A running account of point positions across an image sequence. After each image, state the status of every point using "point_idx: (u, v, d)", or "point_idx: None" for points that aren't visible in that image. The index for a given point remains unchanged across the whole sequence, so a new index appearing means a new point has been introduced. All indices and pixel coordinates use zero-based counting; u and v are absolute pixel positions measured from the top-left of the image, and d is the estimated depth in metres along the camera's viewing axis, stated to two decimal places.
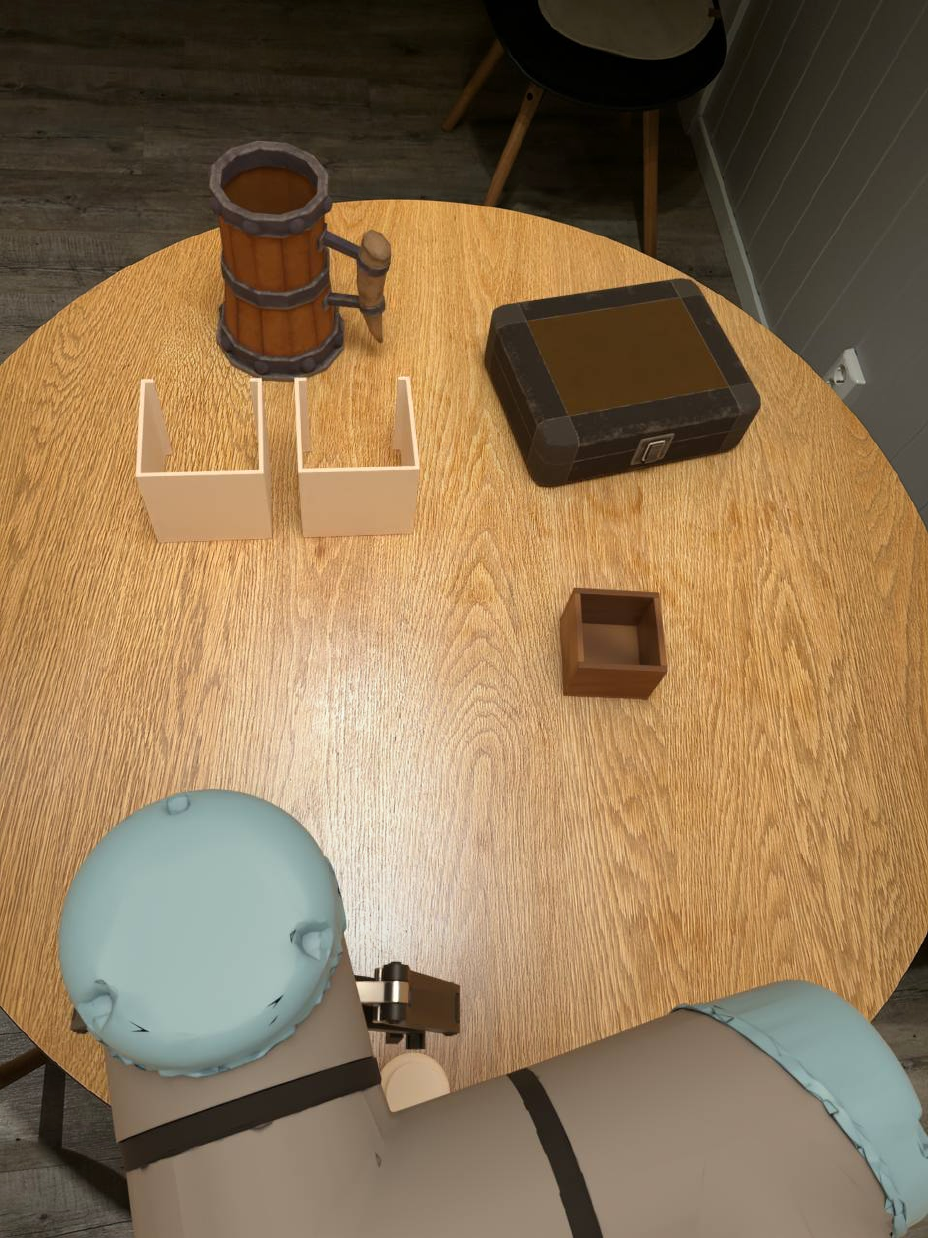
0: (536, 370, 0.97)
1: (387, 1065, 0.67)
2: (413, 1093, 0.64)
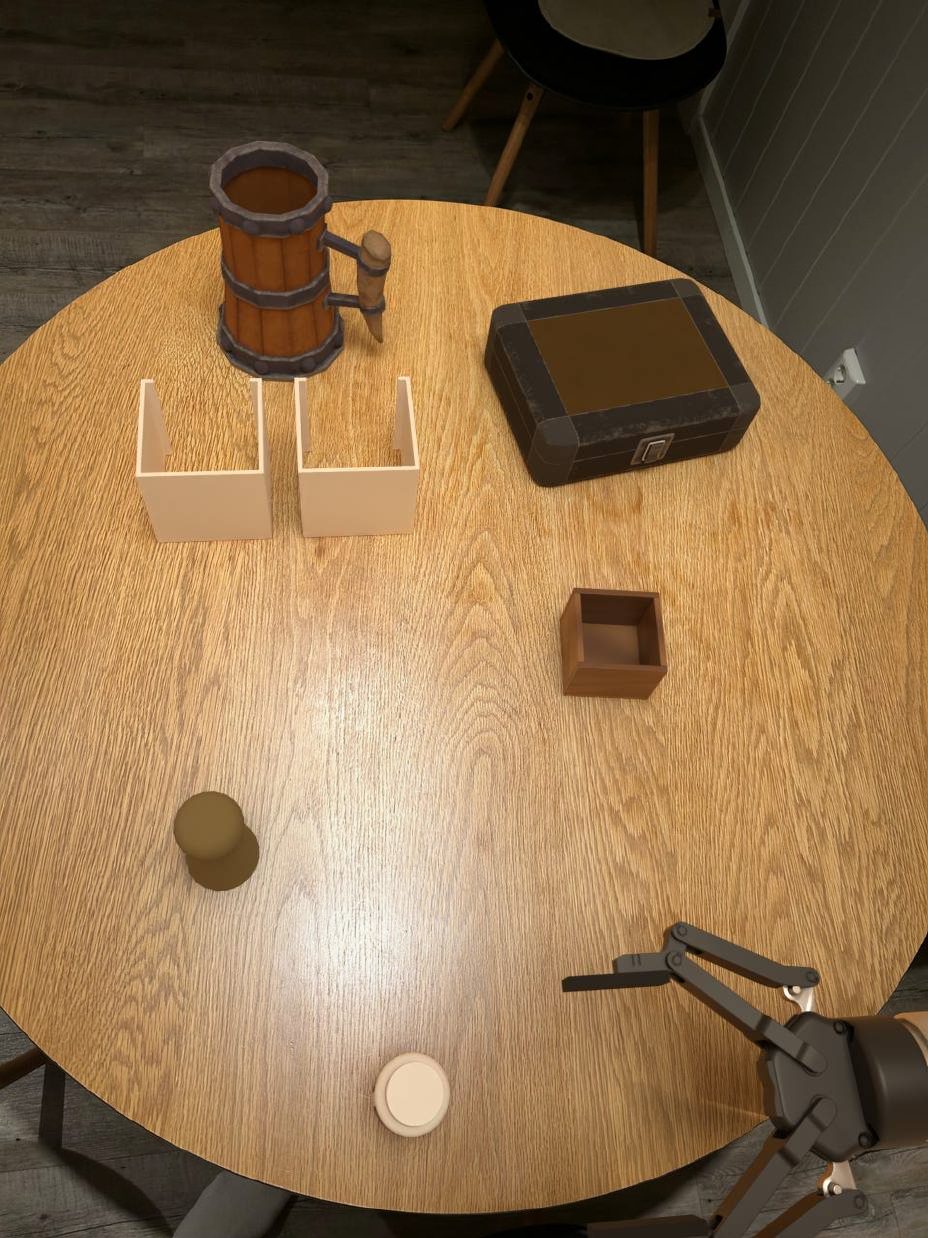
0: (536, 370, 0.97)
1: (387, 1065, 0.67)
2: (413, 1093, 0.64)
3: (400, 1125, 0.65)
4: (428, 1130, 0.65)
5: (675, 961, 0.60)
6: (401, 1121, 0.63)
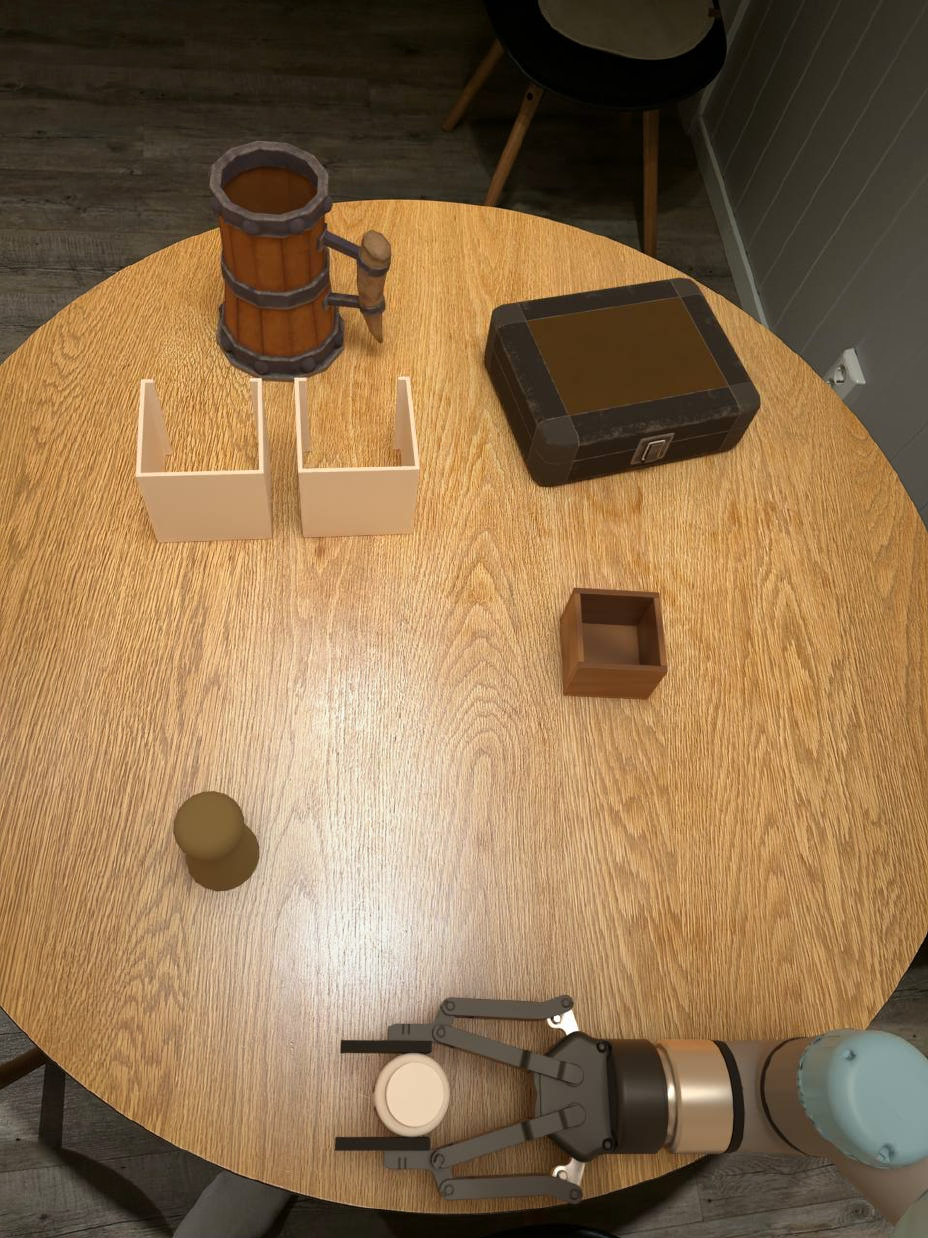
0: (536, 370, 0.97)
1: (387, 1065, 0.67)
2: (413, 1093, 0.64)
3: (400, 1125, 0.65)
4: (428, 1130, 0.65)
5: (440, 1034, 0.68)
6: (401, 1121, 0.63)
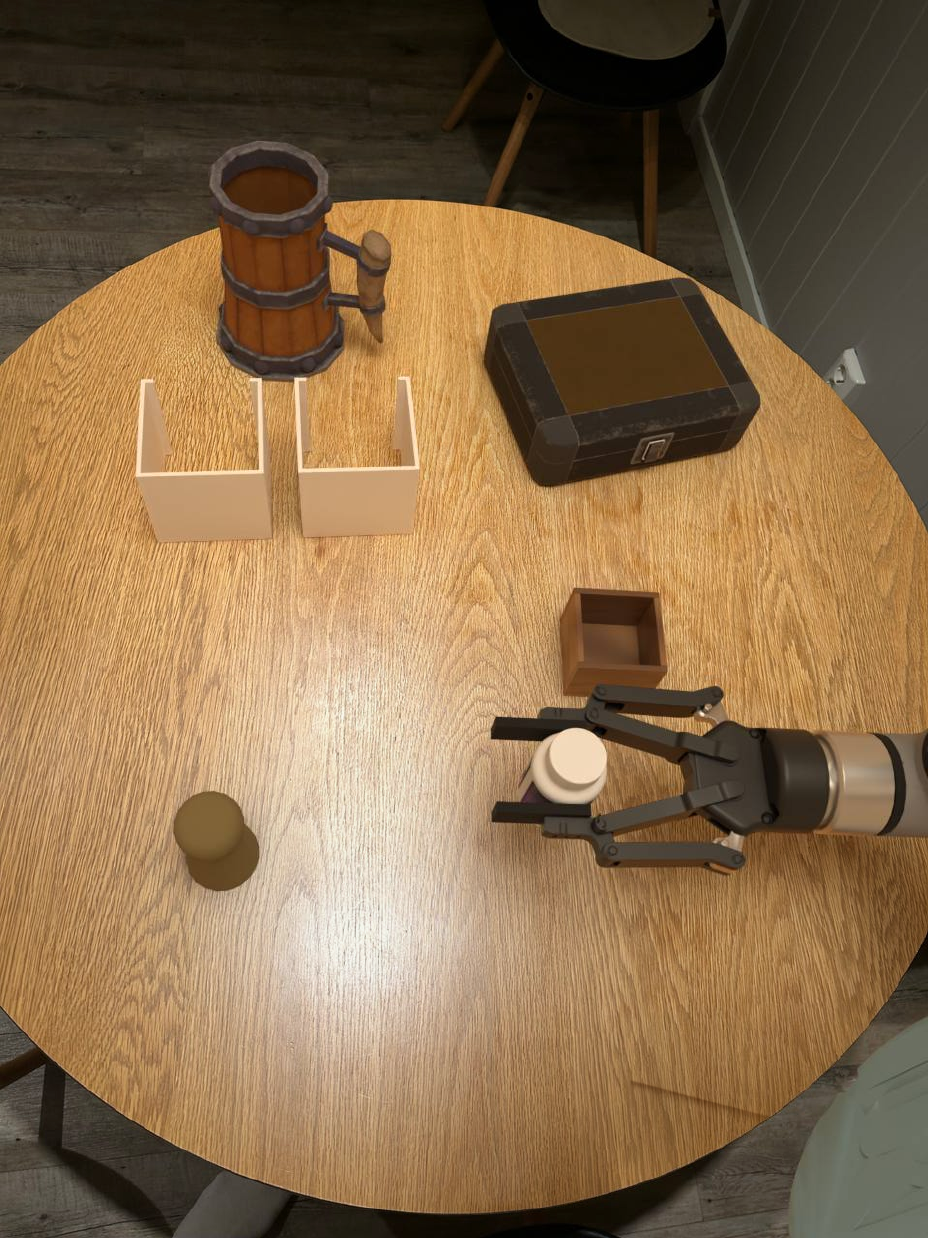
0: (536, 370, 0.97)
1: (543, 741, 0.66)
2: (576, 754, 0.63)
3: (561, 791, 0.64)
4: (588, 798, 0.64)
5: (593, 715, 0.67)
6: (566, 778, 0.62)
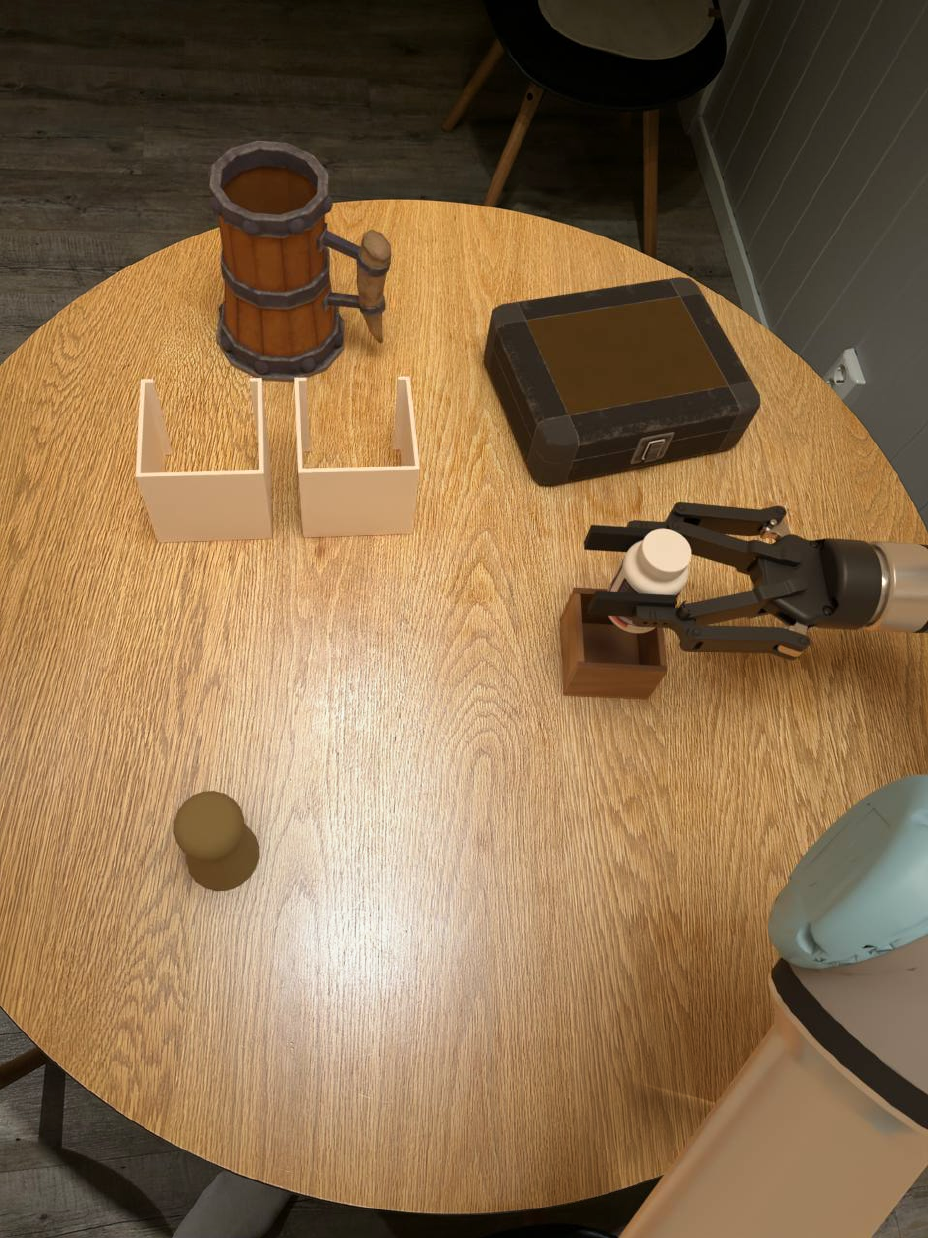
0: (536, 370, 0.97)
1: (633, 545, 0.76)
2: (665, 548, 0.73)
3: (651, 583, 0.74)
4: (674, 590, 0.74)
5: (675, 525, 0.77)
6: (657, 567, 0.72)
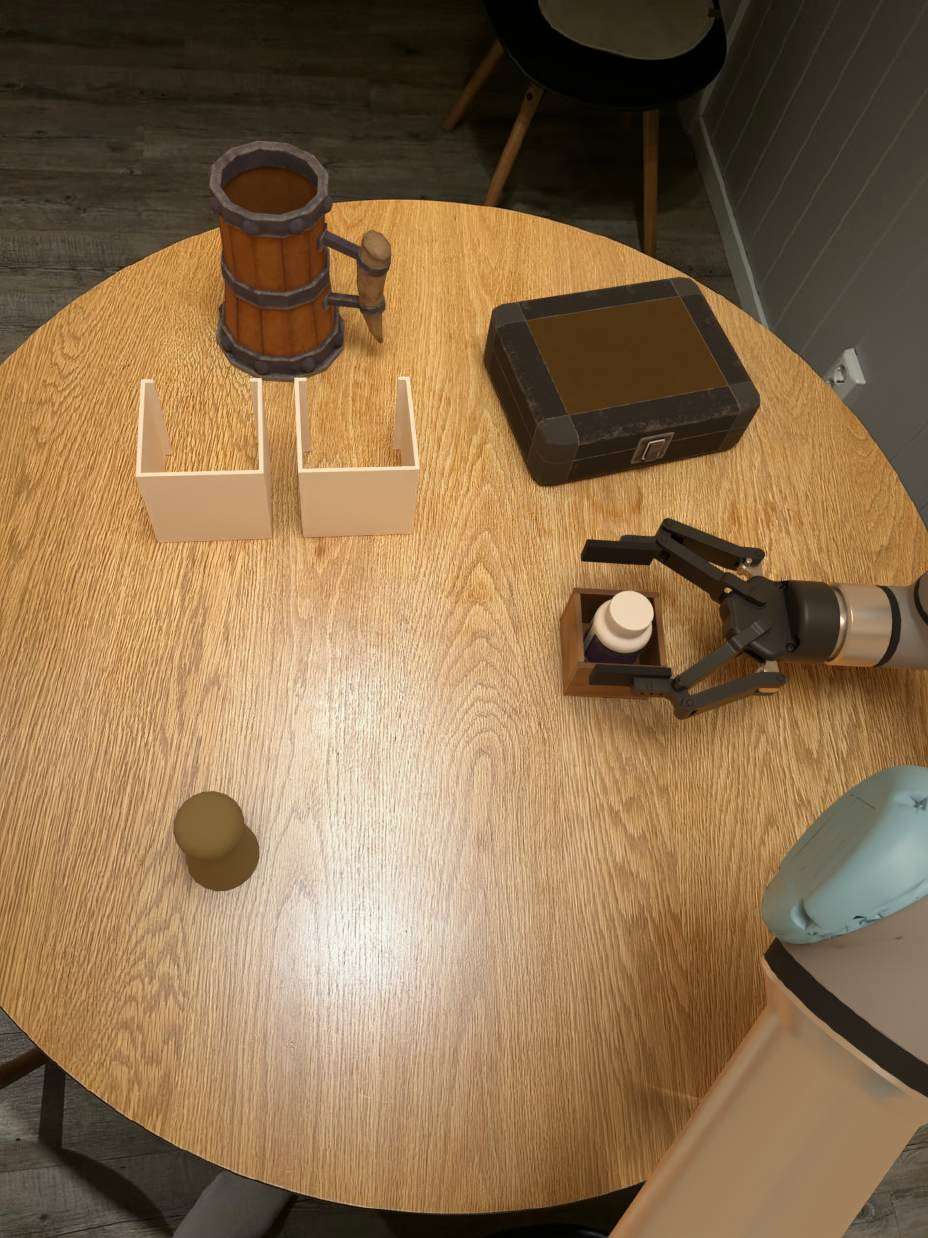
0: (536, 369, 0.97)
1: (602, 604, 0.85)
2: (630, 609, 0.82)
3: (617, 639, 0.83)
4: (638, 645, 0.84)
5: (663, 539, 0.85)
6: (623, 626, 0.81)
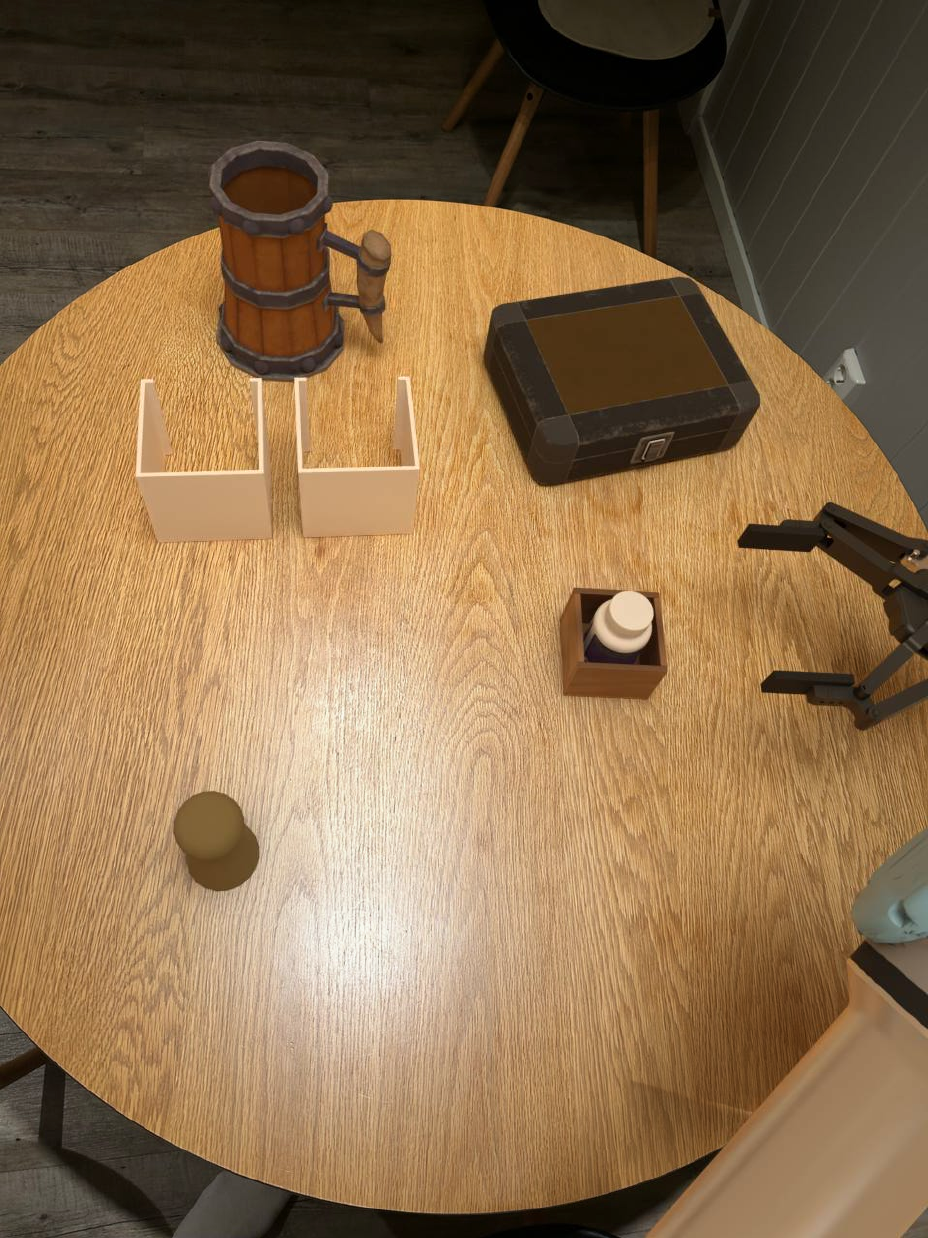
0: (536, 369, 0.97)
1: (602, 604, 0.85)
2: (630, 609, 0.82)
3: (617, 639, 0.83)
4: (638, 645, 0.84)
5: (827, 524, 0.80)
6: (623, 626, 0.81)
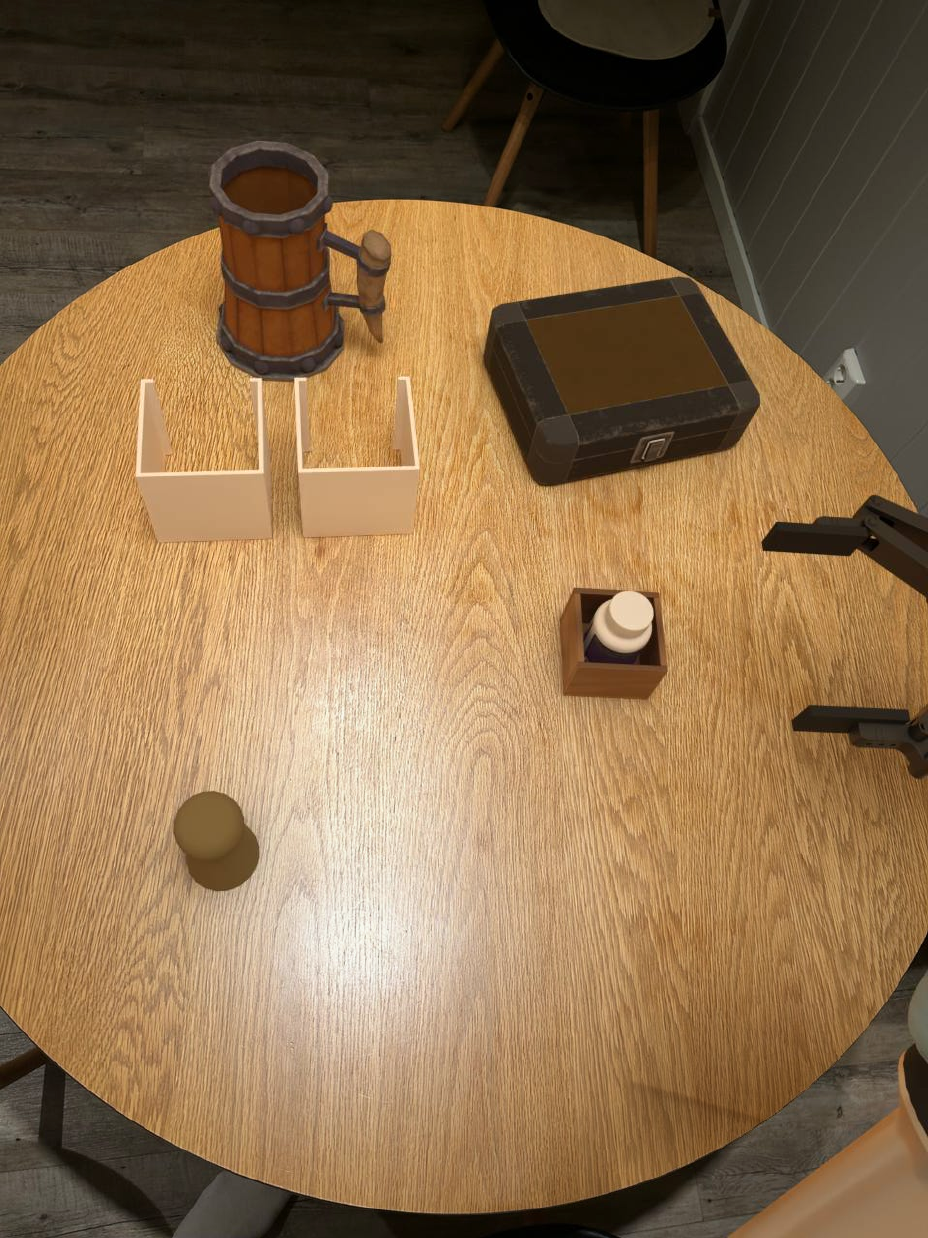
0: (536, 369, 0.97)
1: (602, 604, 0.85)
2: (630, 609, 0.82)
3: (617, 639, 0.83)
4: (638, 645, 0.84)
5: (872, 522, 0.66)
6: (623, 626, 0.81)
